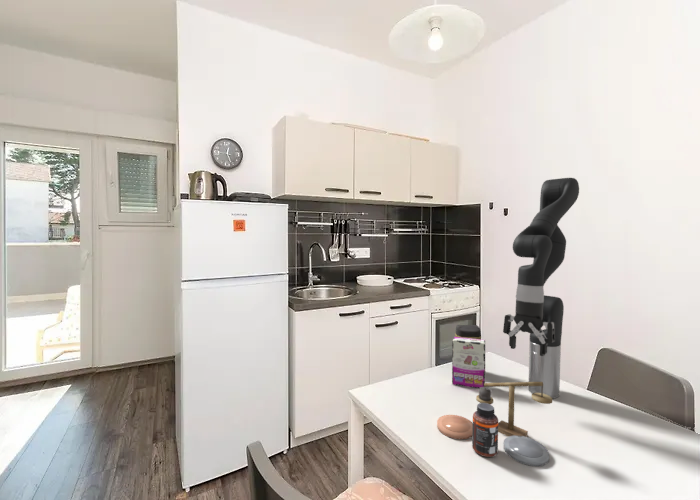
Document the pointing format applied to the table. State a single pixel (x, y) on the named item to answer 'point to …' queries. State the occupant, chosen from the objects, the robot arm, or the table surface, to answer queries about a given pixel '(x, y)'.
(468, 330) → the coffee jar
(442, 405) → the table surface
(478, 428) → the supplement bottle
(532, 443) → the slate dish
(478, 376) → the candy bar box
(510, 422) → the balance
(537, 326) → the robot arm
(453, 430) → the terracotta dish
